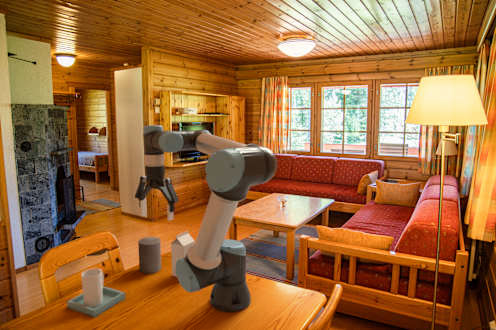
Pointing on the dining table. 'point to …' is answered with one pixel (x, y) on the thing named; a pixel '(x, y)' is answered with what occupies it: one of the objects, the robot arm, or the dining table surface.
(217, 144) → the robot arm
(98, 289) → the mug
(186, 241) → the milk carton
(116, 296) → the tray
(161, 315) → the dining table surface
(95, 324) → the dining table surface
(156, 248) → the dark gray cylinder
